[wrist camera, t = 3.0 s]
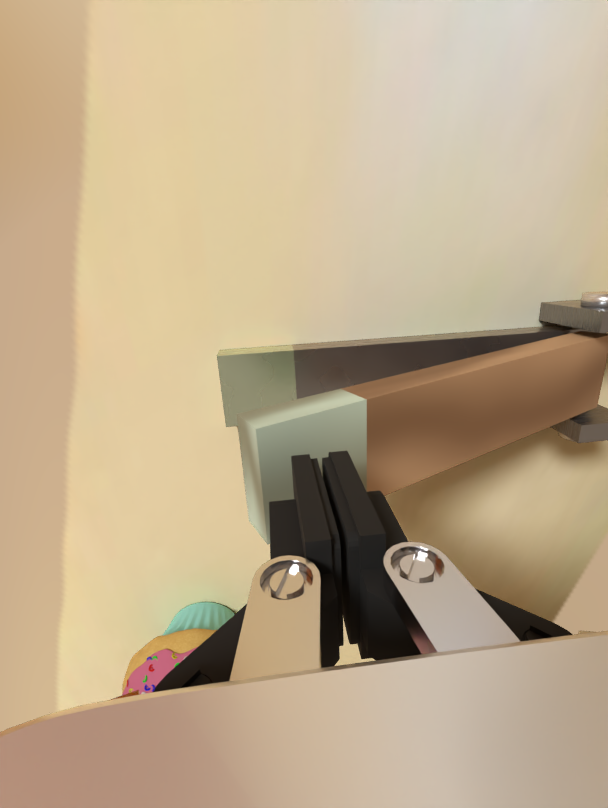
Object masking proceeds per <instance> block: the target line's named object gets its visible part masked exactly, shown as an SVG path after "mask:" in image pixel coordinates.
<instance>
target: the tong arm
mask: <svg viewBox="0 0 608 808" xmlns="http://www.w3.org/2000/svg"><path fill="white" fill-rule="evenodd" d="M607 356H608V334H606V333H597V332H588V331H578V332H574V333H569V334H565V335H561V336H557V337H553V338H549V339H545V340H540V341H536V342H532V343H528V344H524V345H520V346H516V347H511V348H507V349H503V350H499V351H495V352H491V353H487V354H482V355H478V356H474V357H470V358H466V359H462V360H458V361H453V362H449V363H445V364H441V365H437V366H433V367H429V368H424V369H420V370H416V371H412V372H408V373H404V374H400V375H395V376H391V377H387V378H383V379H379V380H375V381H370V382H366V383H362V384H358V385H354V386H350V387H346V388H341V389H337V390H333V391H329V392H325V393H321V394H317V395H312V396H308V397H304V398H300V399H296V400H292V401H288V402H283V403H279V404H275V405H271V406H267V407H263V408H259V409H254V410H250V411H246V412H242V413H238V414H236V415H237V424H238V432H239V440H240V449H241V457H242V466H243V474H244V483H245V491H246V499H247V508H248V516H249V521H250V523H251V524H252V525H253V526H254V528H255V529H256V530H257V532H258V533H259V534H260V535H261V537H262V538H263V539H264V541H265V542H266V543H267V544H270V519H269V502H271V501H281V500H291V499H294V490H293V476H292V462H291V456H294V455H305V454H309V455H310V458H311V459H314V458H317V460H318V463H319V467H320V470H321V474H322V477H323V471H322V458H324V457H328V454H329V452H337V451H348V453H349V455H350V457H351V459H352V461H353V464H354V466H355V468H356V470H357V472H358V474H359V477H360V479H361V481H362V483H363V485H364V487H365V490H366V492H369V491H381V492H382V493H383V495H384V496H385V495H387V494H390V493H392V492H395V491H397V490H399V489H402V488H404V487H407V486H409V485H411V484H414V483H416V482H419V481H421V480H423V479H426V478H428V477H431V476H433V475H435V474H438V473H440V472H442V471H445V470H447V469H450V468H452V467H454V466H457V465H459V464H462V463H464V462H466V461H469V460H471V459H474V458H476V457H478V456H481V455H483V454H486V453H488V452H490V451H493V450H495V449H498V448H500V447H502V446H505V445H507V444H510V443H512V442H514V441H517V440H519V439H522V438H524V437H526V436H529V435H531V434H534V433H536V432H538V431H541V430H543V429H546V428H548V427H550V426H553V425H555V424H557V423H560V422H562V421H565V420H567V419H569V418H572V417H574V416H577V415H579V414H581V413H584V412H586V411H589V410H591V409H593V408H596V407H597V404H598V400H599V395H600V390H601V385H602V380H603V375H604V370H605V366H606V361H607Z"/></svg>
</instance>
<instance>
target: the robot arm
mask: <svg viewBox="0 0 608 808" xmlns="http://www.w3.org/2000/svg"><path fill="white" fill-rule="evenodd" d="M291 462H292V476H293V490H294V499H291V500H281V501H271V502H269V519H270V553H271V560H269V561H267V562H266V563H264V564H263V565H262V566H261V567H260V568H259V569H258V570H257V571H256V573H255V575H254V577H253V580H252V585H251V589H250V594H249V598H248V602H247V604H246V605H245V606H244V607H243V608H242V609H241V610H239V611H238V612H237V613H236V614H235V615H234V616H233V617H232V618H230V619H229V620H228V621H227V622H226V623H225V624H224V625H222V626H221V627H220V628H219V629H218V630H217V631H216V632H214V633H213V634H212V635H211V636H210V637H209V638H208V639H206V640H205V641H204V642H203V643H202V644H201V645H200V646H199V647H197V648H196V649H195V650H194V651H193V652H192V653H191V654H189V655H188V656H187V657H186V658H185V659H184V660H183V661H181V662H180V663H179V664H178V665H177V666H176V667H175V668H173V669H172V670H171V671H170V672H169V673H168V674H167V675H166V676H165V677H164V678H163V679H162V680H161V681H160V682H159V683H158V685H157V686H156V688H155V689H154V691H153V692H151V693H146V694H141V695H140V693H139V690H137V691H134V692H131V693H128V694H125V695H122V696H119V697H117V698H114V699H111V700H107V701H102V702H97V703H91V704H86V705H81V706H77V707H73V708H70V709H66V710H62V711H59V712H55V713H51V714H48V715H44V716H41V717H39V718H36V719H33V720H30V721H28V722H25V723H22V724H19V725H16V726H14V727H11V728H8V729H6V730H4V731H1V732H0V808H608V631H603V632H590V631H579V632H578V634H576V635H572V634H571V633H570V632H569V631H567V630H565V629H564V628H562V627H560V626H558V625H557V624H555V623H553V622H550V621H548V620H546V619H543V618H541V617H539V616H536V615H534V614H532V613H530V612H527V611H525V610H523V609H520V608H518V607H516V606H514V605H511V604H509V603H507V602H504V601H502V600H500V599H498V598H495V597H493V596H491V595H488V594H486V593H484V592H481V591H479V590H477V589H475V588H474V587H473V586H472V585H471V584H470V583H469V581H468V580H467V579H466V578H465V577H464V576H463V575H462V573H461V572H460V571H459V570H458V569H457V568H456V567H455V565H454V564H453V563H452V562H451V561H450V560H449V558H448V557H447V556H446V555H445V554H443V553H442V552H441V551H440V550H438V549H436V548H434V547H433V546H431V545H427V544H424V543H419V542H408V540H407V538H406V536H405V535H404V533H403V531H402V529H401V527H400V525H399V523H398V521H397V520H396V518H395V516H394V514H393V512H392V510H391V508H390V506H389V505H388V503H387V501H386V499H385V497H384V495H383V493H382V492H381V491H369V492H366V490H365V487H364V485H363V483H362V481H361V479H360V477H359V474H358V472H357V470H356V468H355V466H354V464H353V461H352V459H351V457H350V455H349V453H348V451H337V452H329V454H328V457H324V458H322V471H323V477H322V474H321V470H320V467H319V463H318V460H317V458H314V459H311V458H310V455H309V454H305V455H294V456H291ZM343 618H344V622H345V626H346V631H347V635H348V639H349V643H350V644H357V643H358V647H359V651H360V655H361V659H367V658H373V659H375V660H376V661H370V662H362V663H355V664H348V665H340V666H334V665H335V664H336V663H337V661H338V660H339V659H340V657H339V646H342V645H343Z"/></svg>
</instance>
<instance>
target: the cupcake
mask: <svg viewBox="0 0 608 808" xmlns="http://www.w3.org/2000/svg"><path fill="white" fill-rule="evenodd" d="M234 615H235V614H234V613H233V612H232V611H231V610H230V609H229V608H227V607H225V606H223V605H221V604H218V603H213V602H200V603H195V604H192V605H189V606H187V607H185V608H183V609H182V610H181V611H180V612H178V613H177V615H176V616H175V617H174V619H173V620H172V622H171V624H170V625H169V627H168V628H167V630H166V631H165V633H164V634H163V635H162V636H158V637H156V638H154V639H153V640H152V641H150V642H149V643H148V644H147V645H146V646H144V647H143V648H142V649H141V650H140V651H138V652H137V653H136V654H135V655H134V656H133V657H132V659H131V661H130V663H129V666H128V669H127V672H126V675H125V678H124V682H123V694H122V695H125V694H128V693H131V692H134V691H137V690H139V693H140V695H141V694H146V693H151V692H153V691H154V689H155V688H156V686H157V685H158V683H159V682H160V681H161V680H162V679H163V678H164V677H165V676H166V675H167V674H168V673H169V672H170V671H171V670H172V669H173V668H175V667H176V666H177V665H178V664H179V663H180V662H181V661H183V660H184V659H185V658H186V657H187V656H188V655H189V654H191V653H192V652H193V651H194V650H195V649H196V648H197V647H199V646H200V645H201V644H202V643H203V642H204V641H205V640H206V639H208V638H209V637H210V636H211V635H212V634H213V633H214V632H216V631H217V630H218V629H219V628H220V627H221V626H222V625H224V624H225V623H226V622H227V621H228V620H229V619H230V618H232V617H233V616H234Z"/></svg>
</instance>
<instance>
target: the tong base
mask: <svg viewBox="0 0 608 808" xmlns="http://www.w3.org/2000/svg"><path fill="white" fill-rule="evenodd" d="M539 320H541V321H545V322H550V323H555V324H560V325H559V326H546V327H532V328H518V329H504V330H490V331H476V332H463V333H449V334H435V335H421V336H407V337H393V338H380V339H366V340H352V341H338V342H324V343H310V344H297V345H283V346H269V347H255V348H241V349H227V350H220V351H219V353H218V355H217V360H218V368H219V376H220V384H221V391H222V399H223V407H224V414H225V422H226V427H232V426H238V424H237V415H236V414H238V413H242V412H246V411H250V410H254V409H259V408H263V407H267V406H271V405H275V404H279V403H283V402H288V401H292V400H296V399H300V398H304V397H308V396H312V395H317V394H321V393H325V392H329V391H333V390H337V389H341V388H346V387H350V386H354V385H358V384H362V383H366V382H370V381H375V380H379V379H383V378H387V377H391V376H395V375H400V374H404V373H408V372H412V371H416V370H420V369H424V368H429V367H433V366H437V365H441V364H445V363H449V362H453V361H458V360H462V359H466V358H470V357H474V356H478V355H482V354H487V353H491V352H495V351H499V350H503V349H507V348H511V347H516V346H520V345H524V344H528V343H532V342H536V341H540V340H545V339H549V338H553V337H557V336H561V335H565V334H569V333H574V332H578V331H588V332H597V333H606V332H608V292H586V293H582V298H581V300H572V301H557V302H543V303H541V310H540V317H539ZM550 427H551V428H553V429H555V430H556V431H558V435H559V436H560V437H562V438H564V439H567V440H570V441H574V442H577V443H583V442H594V441H604V440H608V409H607V408H605V407H603V406H600V405H598V404H597V407H596V408H593V409H591V410H589V411H586V412H584V413H581V414H579V415H577V416H574V417H572V418H569V419H567V420H565V421H562V422H560V423H557V424H555V425H553V426H550Z"/></svg>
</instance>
